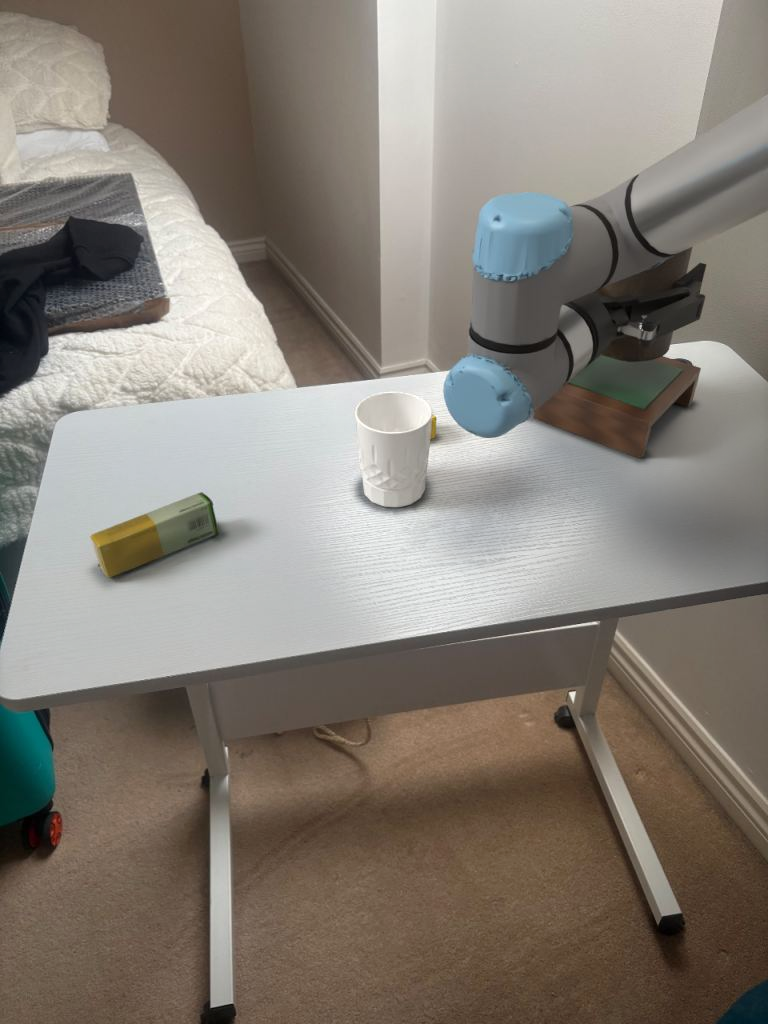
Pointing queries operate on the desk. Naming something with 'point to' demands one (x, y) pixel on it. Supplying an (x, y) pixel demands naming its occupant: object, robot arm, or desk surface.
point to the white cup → (393, 446)
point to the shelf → (620, 400)
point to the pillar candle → (642, 285)
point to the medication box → (154, 534)
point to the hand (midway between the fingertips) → (656, 263)
